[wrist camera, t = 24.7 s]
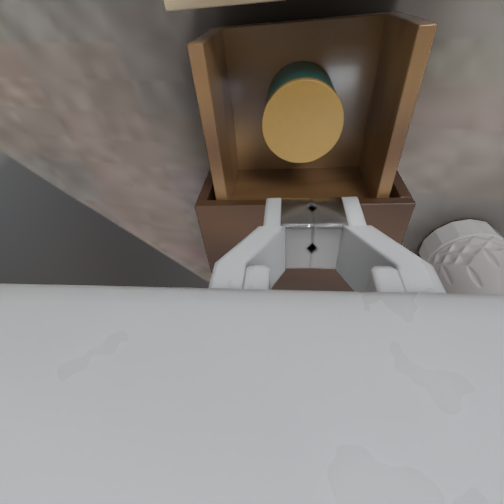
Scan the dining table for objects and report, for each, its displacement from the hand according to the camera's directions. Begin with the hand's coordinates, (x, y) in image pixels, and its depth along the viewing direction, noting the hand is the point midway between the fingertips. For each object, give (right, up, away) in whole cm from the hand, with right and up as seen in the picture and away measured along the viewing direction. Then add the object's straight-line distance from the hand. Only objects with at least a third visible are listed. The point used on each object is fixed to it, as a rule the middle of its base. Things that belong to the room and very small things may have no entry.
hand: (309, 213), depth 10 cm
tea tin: (+1, +9, +10) cm, 13 cm away
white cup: (+19, -1, +19) cm, 27 cm away
